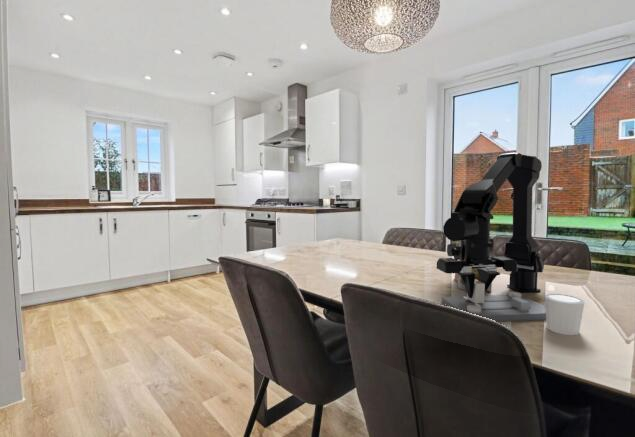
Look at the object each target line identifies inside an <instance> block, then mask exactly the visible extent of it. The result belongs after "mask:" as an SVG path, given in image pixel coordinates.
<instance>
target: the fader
mask: <svg viewBox="0 0 635 437" xmlns="http://www.w3.org/2000/svg"><path fill="white" fill-rule="evenodd" d="M485 294H486V292H485V283H483V282H480V281H478V280H476V279H475V281H474V291H473V296H472V298H469V297H468V294H467V293H466V296H467V299H469V300H470V301H472V302H474V303H484V296H485Z"/></svg>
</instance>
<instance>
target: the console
mask: <svg viewBox="0 0 635 437" xmlns="http://www.w3.org/2000/svg"><path fill="white" fill-rule="evenodd" d="M441 304H443V306H446V305H447V306H450V307H453V308H456V309H459V310H463V311H466V312H469V313H472V314H476V315H479V316H482V317H486V318H489V319H492V320H495V321H497V322H519V321H521V322H522V321H523V322H524V321H541V320H542V321H543V320H545V321H546V308H545V304H544V305H543V304H541V303H539V302H537V301H534V300H533V299H530V298H528V297H526V296H524V295H522V292H519V291H508V294H496V295H494V294H493V295H484V303H474V302H472V301H470V300H469V299H467V295H466V296H465V295H464V296H441ZM445 304H446V305H445ZM447 306H446V307H447ZM497 322H496V323H497Z"/></svg>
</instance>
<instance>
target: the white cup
mask: <svg viewBox="0 0 635 437" xmlns="http://www.w3.org/2000/svg"><path fill="white" fill-rule="evenodd" d="M544 303H545V304H544V306H545V308H546V320H545V321H546V328H547V329H548V330H549V331H551V332H554V333H556V334H560V335H564V336H565V335H566V336H576V335H579V334H580V330H581V324H582V319H583V312H584V307H585V300H583V299H582V298H580V297H577V296H573V295H568V294H561V293H547V294H545V295H544Z"/></svg>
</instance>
